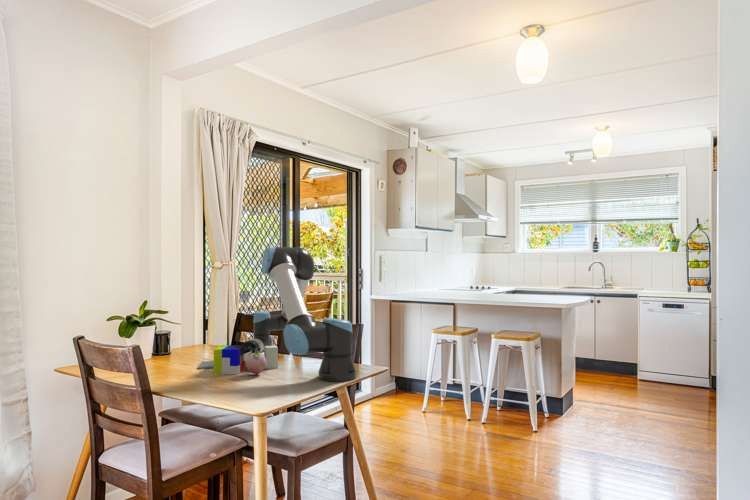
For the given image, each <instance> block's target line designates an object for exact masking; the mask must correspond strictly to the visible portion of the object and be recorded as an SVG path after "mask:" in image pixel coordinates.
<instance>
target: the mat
mask: <svg viewBox="0 0 750 500" xmlns="http://www.w3.org/2000/svg"><path fill="white" fill-rule="evenodd" d="M197 369H198V370H208V369H214V360H207V361H206V360H205V361H204V360H202V361H201V362H200V364H199V365H198V367H197Z"/></svg>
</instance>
